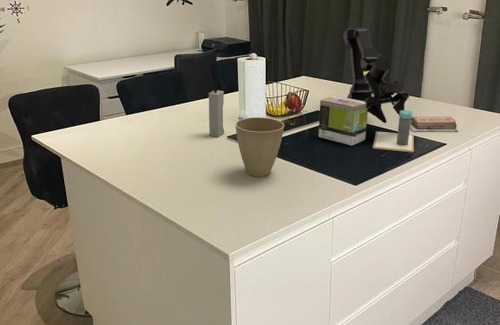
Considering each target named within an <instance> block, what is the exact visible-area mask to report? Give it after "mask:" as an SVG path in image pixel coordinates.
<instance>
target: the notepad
mask: <svg viewBox="0 0 500 325" xmlns="http://www.w3.org/2000/svg"><path fill="white" fill-rule="evenodd" d="M397 135H398V132H397V133H396V132H385V131H377V130H376V131H375V135H374V141H373V144H372V149H376V150H384V151H385V150H387V151H398V152H406V153H414V152H415V148H414V144H415V143H414V142H415V141H414V140H415V137H414V134H411V133H409V140H408V145H405V146H402V145H398V144H397Z"/></svg>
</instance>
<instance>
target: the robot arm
mask: <svg viewBox="0 0 500 325" xmlns="http://www.w3.org/2000/svg"><path fill="white" fill-rule="evenodd" d="M368 30H369V29H368V28H366V27H356V28H347V29H346V30H345V31H344V32H343V36H342V38H343V41H344V44H345V47H346V48H347V49H348V50H349V55H350V56H349V58H350V65H351V74H352V76H351V77H352V85H351V86H350V89H349V93H348V95H347V97H346V98H349V99H354V100H360V101H364V102H366V103H367V105H366V108H368V113H369V114H371V115H372V116H374V117H375V118H377V119H378V120H379V121H380V122H382V123H384V124H386V123H387V122H388V121H387V118H386V116H385V114H384V111H383V109H382V105H384V104H391V105H392V108H393V110H394V111H395V112H396V113H397V115H398V116H399V114H400V111H401V110H405V103H406V102H407V101H408V99H409V98H410V96H409V94H408V92H407V91H402V89H403V88H404V83H403V81H402V79H397V80H394V81H393V82H390V83H389V82H386V81H385V80H384V78H385V77H386V76H387V73H388V72H389V70H390V69H391V66H392V64H391V62H390V61H389V60H388V59H387V58H385V56H384V54H383V55H382V54H381V53H379V52H378V51H376V50H375V49H374V47H373V44H372V41H371V38H370V37H369V34H368V33H369V31H368ZM363 71H364V72H365V71H369V72H368V73H367V74H365V78H364V72H363ZM365 81H367V82H368V83H366V82H365ZM370 89H371V91H370ZM395 93H396V94H395ZM371 94H373V95H374V96H373V97H372V95H371Z"/></svg>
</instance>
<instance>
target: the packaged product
mask: <svg viewBox="0 0 500 325" xmlns="http://www.w3.org/2000/svg"><path fill="white" fill-rule="evenodd" d="M457 127H458V125H457V122H456V119H455V118H453V117H451V116H420V115H419V116H418V115H416V116H412V117H411V123H410V131H411V132H412V133H458V132H459V130H458V129H457Z"/></svg>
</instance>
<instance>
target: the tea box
mask: <svg viewBox="0 0 500 325" xmlns="http://www.w3.org/2000/svg"><path fill="white" fill-rule="evenodd" d="M366 105H367V103H366V102H364V101H360V100H354V99H349V98H347V97H344V96H343V97H342V96H338V95H333V96H329V97H326V98H323V99H320V100H319V118H318V119H319V120H318V137H319V138H322V139H326V140H329V141H333V142H337V143H341V144H344V145H349V146H354V145H356V144H359V143H361V142H363V141H365V140H366V134H367V127H368V126H367V123H368V113H369V112H368V108H366Z"/></svg>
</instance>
